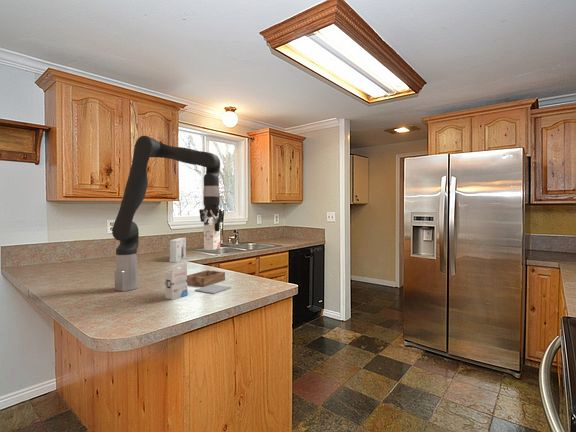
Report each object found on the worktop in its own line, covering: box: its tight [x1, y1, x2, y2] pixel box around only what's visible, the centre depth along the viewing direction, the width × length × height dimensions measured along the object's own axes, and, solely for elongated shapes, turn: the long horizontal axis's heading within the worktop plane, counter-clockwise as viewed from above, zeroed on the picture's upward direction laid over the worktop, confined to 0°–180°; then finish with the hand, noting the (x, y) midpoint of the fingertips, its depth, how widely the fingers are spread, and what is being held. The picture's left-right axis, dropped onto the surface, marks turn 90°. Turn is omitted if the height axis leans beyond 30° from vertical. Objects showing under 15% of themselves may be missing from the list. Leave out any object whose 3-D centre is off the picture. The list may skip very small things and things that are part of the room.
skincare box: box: [169, 237, 187, 263], centre depth 243 cm, size 21×6×16 cm, turn 179°
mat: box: [194, 284, 232, 295], centre depth 156 cm, size 12×12×1 cm
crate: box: [187, 269, 226, 288], centre depth 171 cm, size 12×16×4 cm
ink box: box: [164, 262, 189, 301], centre depth 144 cm, size 9×5×15 cm, turn 148°
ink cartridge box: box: [203, 218, 221, 251], centre depth 155 cm, size 9×5×15 cm, turn 168°
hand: (212, 230), depth 155 cm, fingers closed on ink cartridge box, 6 cm apart
